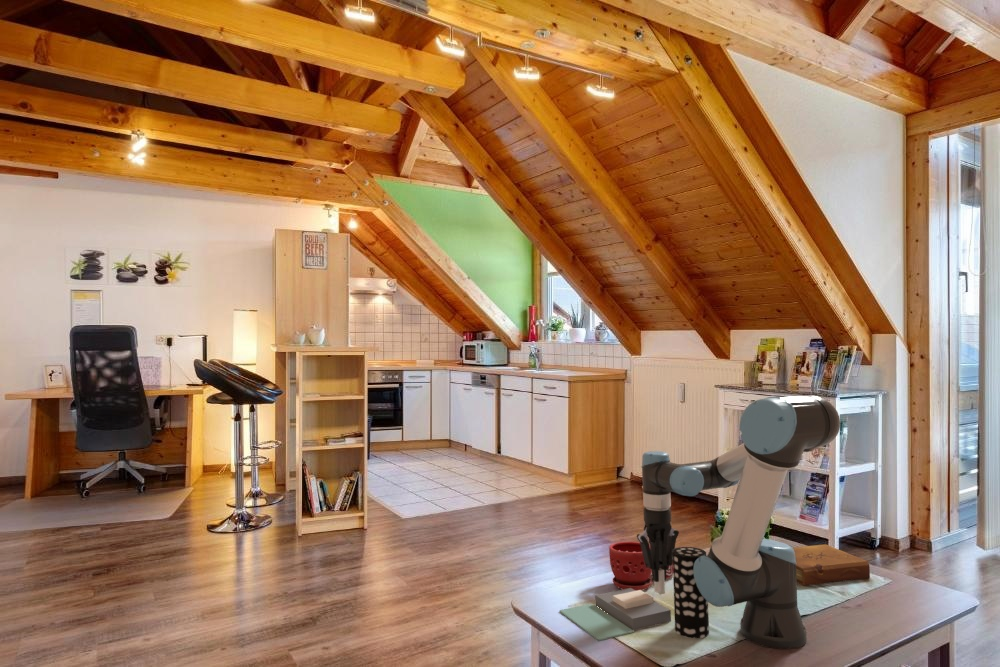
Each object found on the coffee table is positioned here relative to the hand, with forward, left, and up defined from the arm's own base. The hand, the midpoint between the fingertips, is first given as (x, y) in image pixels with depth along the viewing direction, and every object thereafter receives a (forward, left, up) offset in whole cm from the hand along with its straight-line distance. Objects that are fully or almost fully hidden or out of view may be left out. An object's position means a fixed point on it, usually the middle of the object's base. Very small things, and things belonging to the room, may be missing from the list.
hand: (659, 592), depth 178 cm
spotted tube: (-16, +2, -4) cm, 17 cm away
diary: (0, -61, -5) cm, 61 cm away
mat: (0, +21, -4) cm, 22 cm away
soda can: (+19, -16, -4) cm, 25 cm away
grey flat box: (0, +9, -4) cm, 10 cm away
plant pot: (+17, -3, -4) cm, 18 cm away
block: (0, +9, -1) cm, 9 cm away
